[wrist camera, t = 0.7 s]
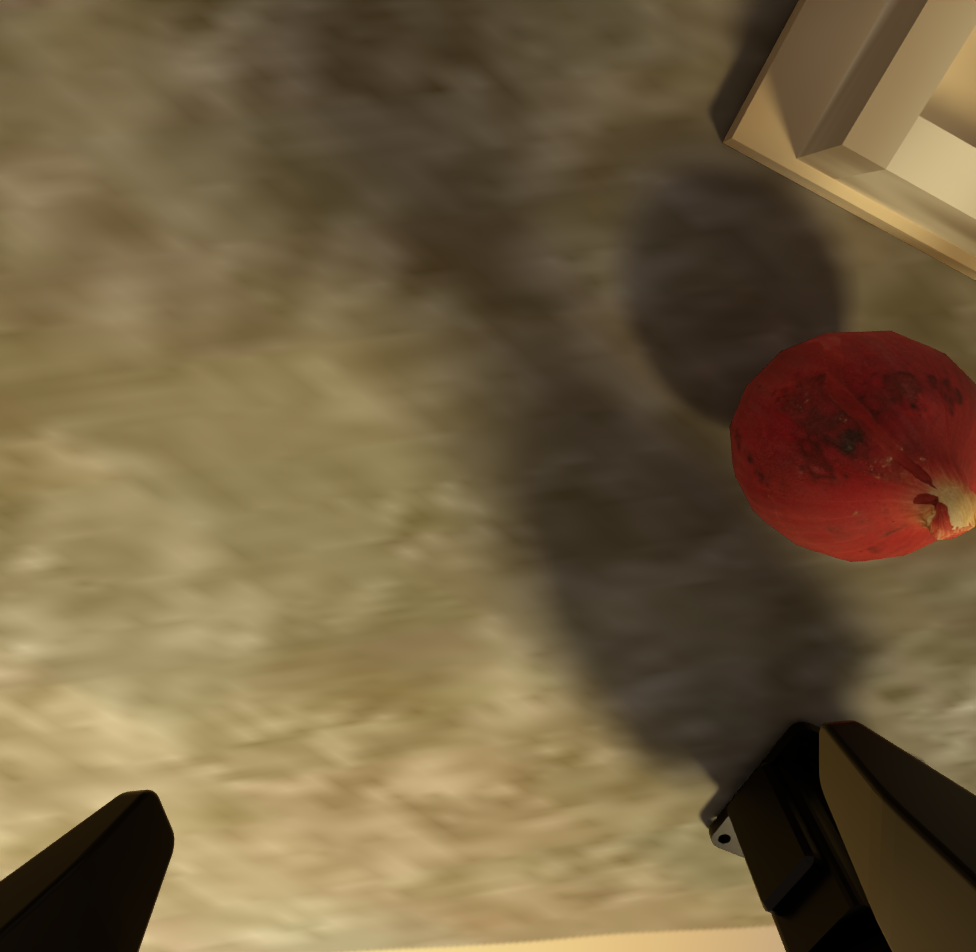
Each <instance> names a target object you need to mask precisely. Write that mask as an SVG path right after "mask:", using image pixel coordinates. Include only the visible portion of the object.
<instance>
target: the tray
mask: <svg viewBox="0 0 976 952" xmlns="http://www.w3.org/2000/svg"><path fill="white" fill-rule="evenodd" d="M722 143H724V144H726V145H728V146H730V147H731V148H733V149H735V150H737V151H739V152H741V153H742V154H744V155H746V156H748V157H750V158H752V159H753V160H755V161H757V162H759V163H761V164H763V165H764V166H766V167H768V168H770V169H772V170H774V171H775V172H777V173H779V174H781V175H783V176H785V177H786V178H788V179H790V180H792V181H794V182H796V183H797V184H799V185H801V186H803V187H805V188H807V189H808V190H810V191H812V192H814V193H816V194H818V195H819V196H821V197H823V198H825V199H827V200H829V201H831V202H832V203H834V204H836V205H838V206H840V207H842V208H843V209H845V210H847V211H849V212H851V213H853V214H854V215H856V216H858V217H860V218H862V219H864V220H865V221H867V222H869V223H871V224H873V225H875V226H876V227H878V228H880V229H882V230H884V231H886V232H887V233H889V234H891V235H893V236H895V237H897V238H898V239H900V240H902V241H904V242H906V243H908V244H909V245H911V246H913V247H915V248H917V249H919V250H920V251H922V252H924V253H926V254H928V255H930V256H932V257H933V258H935V259H937V260H939V261H941V262H943V263H944V264H946V265H948V266H950V267H952V268H954V269H955V270H957V271H959V272H961V273H963V274H965V275H966V276H968V277H970V278H972V279H974V280H976V0H798V2H797V4H796V6H795V8H794V10H793V12H792V14H791V15H790V17H789V19H788V21H787V23H786V25H785V27H784V28H783V30H782V32H781V34H780V36H779V38H778V40H777V42H776V43H775V45H774V47H773V49H772V51H771V53H770V55H769V57H768V58H767V60H766V62H765V64H764V66H763V68H762V70H761V71H760V73H759V75H758V77H757V79H756V81H755V83H754V85H753V86H752V88H751V90H750V92H749V94H748V96H747V98H746V99H745V101H744V103H743V105H742V107H741V109H740V111H739V113H738V114H737V116H736V118H735V120H734V122H733V124H732V126H731V127H730V129H729V131H728V133H727V135H726V137H725V139H724V141H723V142H722Z"/></svg>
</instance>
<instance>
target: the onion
mask: <svg viewBox="0 0 976 952" xmlns="http://www.w3.org/2000/svg"><path fill="white" fill-rule="evenodd" d="M730 436H731V449H732V461H733V468H734V472H735V477H736V479H737V481H738V483H739V484H740V486H741V488H742V490H743V492H744V494H745V496H746V498H747V500H748V502H749V504H750V506H751V508H752V509H753V511H754V512H755V513H756V514H757V515H758V516H759V517H761V518H762V519H763V520H764V521H765V522H766V523H768V524H769V525H770V526H772V527H773V528H774V529H776V530H777V531H778V532H780V533H781V534H783V535H784V536H785V537H787V538H788V539H789V540H791V541H792V542H793V543H795V544H796V545H799V546H802V547H805V548H807V549H810V550H813V551H817V552H820V553H823V554H826V555H829V556H832V557H835V558H839V559H843V560H846V561H850V562H853V561H868V560H875V559H882V558H889V557H896V556H904V555H906V554H909V553H911V552H914V551H916V550H918V549H920V548H922V547H924V546H926V545H928V544H930V543H933V542H935V541H937V540H942V539H951V538H954V537H957V536H959V535H961V534H963V533H965V532H967V531H968V530H970V529H972V528H973V527H975V520H976V384H975V383H974V382H973V381H972V380H971V379H970V378H969V377H968V376H967V375H966V374H965V373H964V372H963V371H962V370H961V369H960V368H959V367H958V366H957V365H956V364H955V363H954V362H953V361H952V360H951V359H950V358H949V357H948V356H947V355H946V354H944V353H942V352H940V351H938V350H936V349H933V348H931V347H929V346H927V345H924V344H922V343H919V342H917V341H914V340H912V339H910V338H907V337H905V336H902V335H900V334H897V333H895V332H892V331H872V332H839V333H825V334H822V335H820V336H817V337H815V338H812V339H810V340H807V341H805V342H803V343H800V344H798V345H795V346H793V347H790V348H788V349H785V350H783V351H781V352H780V353H779V354H778V355H777V356H776V357H775V358H774V359H773V360H772V361H771V362H770V363H769V364H768V365H767V366H766V367H765V368H764V369H763V370H762V371H761V372H760V373H759V374H758V375H757V376H756V377H755V378H754V379H753V380H752V381H751V382H750V383H749V384H748V385H747V386H746V388H745V390H744V393H743V395H742V398H741V400H740V402H739V405H738V407H737V410H736V412H735V415H734V417H733V420H732V422H731V424H730Z"/></svg>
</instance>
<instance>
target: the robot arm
mask: <svg viewBox="0 0 976 952" xmlns="http://www.w3.org/2000/svg"><path fill="white" fill-rule="evenodd" d="M803 735H806V736H805V737H803V738H800V737H801V736H803ZM723 834H724V835H723ZM709 835H710V838H711V841H712V843H713V844H714V845H715V846H716V847H718V848H721V849H723V850H726V851H728V852H731V853H733V854H736V855H738V856H741V857H743V858H745V860H746V863H747V866H748V868H749V871H750V874H751V876H752V879H753V882H754V884H755V887H756V890H757V892H758V895H759V897H760V900H761V903H762V905H763V908H764V909H765V911H768V912H770V913H771V914H772V917H773V919H774V922H775V924H776V927H777V930H778V932H779V935H780V937H781V940H782V942H783V945H784V948H785V950H786V952H976V796H975V795H974V794H972V793H971V792H969V791H968V790H966V789H964V788H963V787H961V786H960V785H958V784H956V783H955V782H953V781H952V780H950V779H948V778H947V777H945V776H944V775H942V774H940V773H939V772H937V771H936V770H934V769H932V768H931V767H929V766H928V765H926V764H925V763H923V762H921V761H920V760H918V759H917V758H915V757H913V756H912V755H910V754H909V753H907V752H905V751H904V750H902V749H901V748H899V747H897V746H896V745H894V744H893V743H891V742H890V741H888V740H886V739H885V738H883V737H882V736H880V735H878V734H877V733H875V732H874V731H872V730H870V729H869V728H867V727H866V726H864V725H862V724H861V723H859V722H856V721H850V720H849V721H839V722H829V723H824V724H823V725H822V726H821V728H819V727H816V726H814V725H812V724H809V723H806V722H798V723H796V724H793V725H792V726H791V727H790V728H789V729H788V730H787V731H786V733H785V734H784V735H783V736H782V738H781V739H780V740H779V741H778V743H777V744H776V745H775V746H774V748H773V749H772V750H771V751H770V753H769V754H768V755H767V756H766V758H765V759H764V760H763V761H762V763H761V764H760V765H759V766H758V768H757V769H756V770H755V771H754V772H753V774H752V775H751V776H750V777H749V779H748V780H747V781H746V782H745V784H744V785H743V786H742V787H741V789H740V790H739V791H738V792H737V794H736V795H735V796H734V797H733V799H732V800H731V801H730V802H729V804H728V805H727V806H726V807H725V809H724V810H723V811H722V812H721V814H720V815H719V816H718V817H717V819H716V820H715V821H714V822H713V824H712V825H711V826H710V828H709ZM173 848H174V833H173V830H172V827H171V825H170V823H169V820H168V818H167V816H166V813H165V811H164V809H163V806H162V804H161V801H160V799H159V797H158V795H157V794H156V793H155V792H153V791H151V790H140V791H130V792H125V793H122V794H120V795H119V796H117V797H116V798H114V799H113V800H112V801H110V802H109V803H107V804H106V805H105V806H103V807H102V808H101V809H99V810H98V811H96V812H95V813H94V814H92V815H91V816H90V817H88V818H87V819H85V820H84V821H83V822H81V823H80V824H79V825H77V826H76V827H74V828H73V829H72V830H70V831H69V832H68V833H66V834H65V835H63V836H62V837H61V838H59V839H58V840H57V841H55V842H54V843H52V844H51V845H50V846H48V847H47V848H46V849H44V850H43V851H41V852H40V853H39V854H37V855H36V856H35V857H33V858H32V859H30V860H29V861H28V862H26V863H25V864H24V865H22V866H21V867H19V868H18V869H17V870H15V871H14V872H13V873H11V874H10V875H8V876H7V877H6V878H4V879H3V880H2V881H0V952H139V949H140V946H141V943H142V940H143V937H144V934H145V931H146V928H147V926H148V923H149V920H150V917H151V914H152V911H153V908H154V905H155V902H156V900H157V897H158V894H159V891H160V888H161V885H162V882H163V879H164V876H165V874H166V871H167V868H168V865H169V862H170V859H171V856H172V853H173Z"/></svg>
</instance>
